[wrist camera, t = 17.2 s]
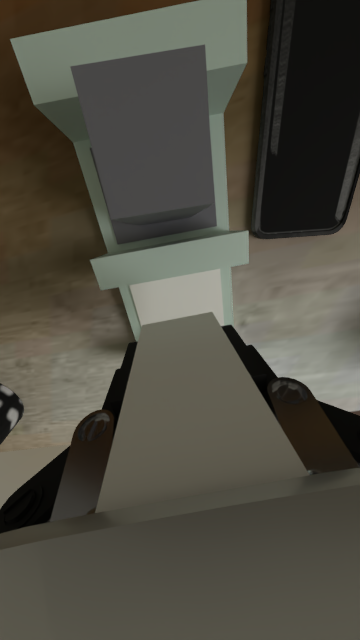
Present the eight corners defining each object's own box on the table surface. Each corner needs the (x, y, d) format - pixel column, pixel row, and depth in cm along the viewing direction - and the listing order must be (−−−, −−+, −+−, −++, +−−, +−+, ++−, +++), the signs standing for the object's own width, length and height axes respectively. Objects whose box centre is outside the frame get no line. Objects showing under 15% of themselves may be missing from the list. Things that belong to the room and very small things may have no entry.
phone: (432, -86, 10) (343, 233, 16) (407, -56, 11) (332, 233, 17) (282, -83, 9) (252, 240, 16) (271, -52, 10) (247, 239, 17)
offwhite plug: (212, 311, 10) (317, 487, 3) (218, 367, 12) (296, 563, 5) (142, 325, 11) (91, 528, 3) (158, 378, 12) (147, 590, 5)
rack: (217, 79, 12) (246, -10, 8) (231, 339, 21) (249, 369, 16) (67, 109, 12) (9, 38, 8) (143, 354, 21) (136, 388, 16)
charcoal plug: (183, 151, 13) (205, 44, 5) (190, 217, 14) (213, 203, 7) (125, 160, 13) (69, 66, 5) (139, 225, 14) (111, 219, 7)
